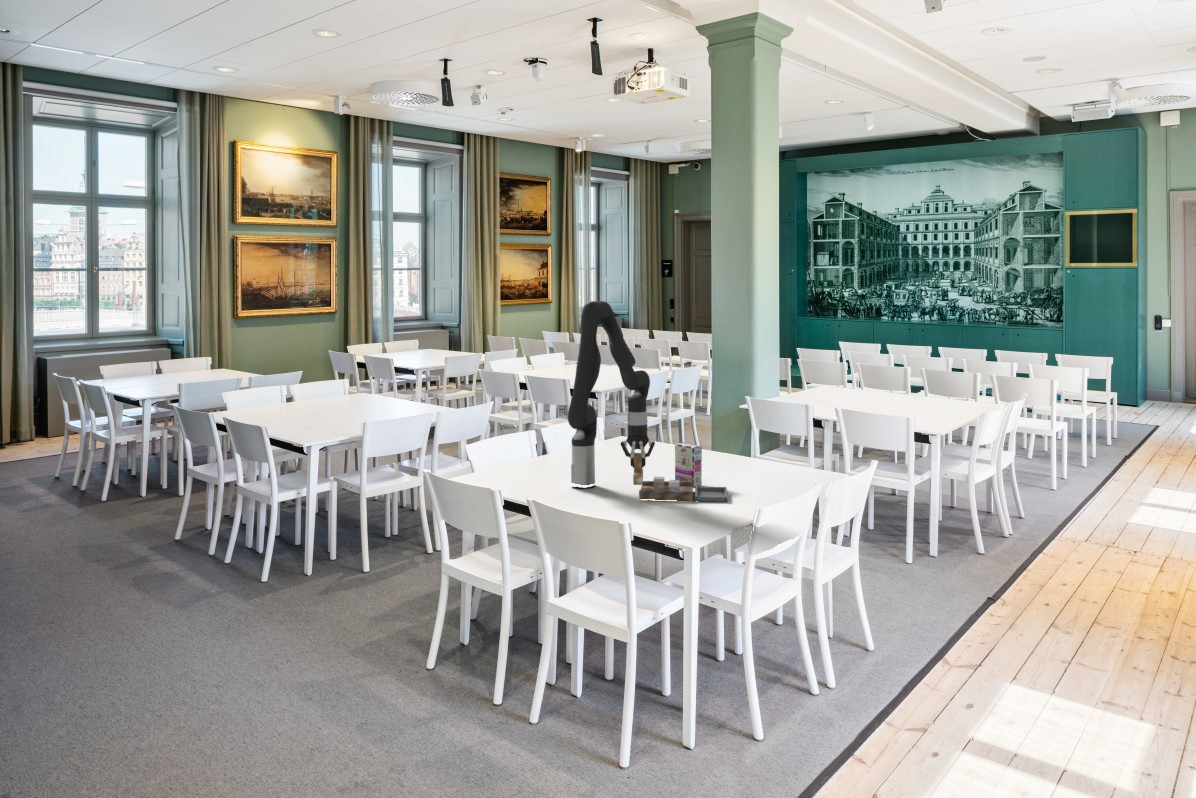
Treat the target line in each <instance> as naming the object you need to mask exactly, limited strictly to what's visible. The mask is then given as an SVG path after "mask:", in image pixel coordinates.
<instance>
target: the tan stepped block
mask: <svg viewBox="0 0 1196 798" xmlns="http://www.w3.org/2000/svg"><path fill="white" fill-rule="evenodd" d="M632 475H633V478H632V480H633V481H632V482H633V484H632V485H633V486H636V485H637V486H642V481H644V468H642V454H641V452H634V468H633V474H632Z"/></svg>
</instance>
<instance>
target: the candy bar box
mask: <svg viewBox="0 0 1196 798" xmlns="http://www.w3.org/2000/svg"><path fill="white" fill-rule="evenodd" d="M702 449H703V447H702V445H697V444H692V443H685V442H679V443H674V480H680V481H682V482H693V488H695V487H696V486H698V487H702V476H703V475H702V472H703V471H702V469H703V468H702V465H703V464H702V463H703V462H702V461H703V460H702V457H703V456H702V451H703V450H702Z"/></svg>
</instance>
